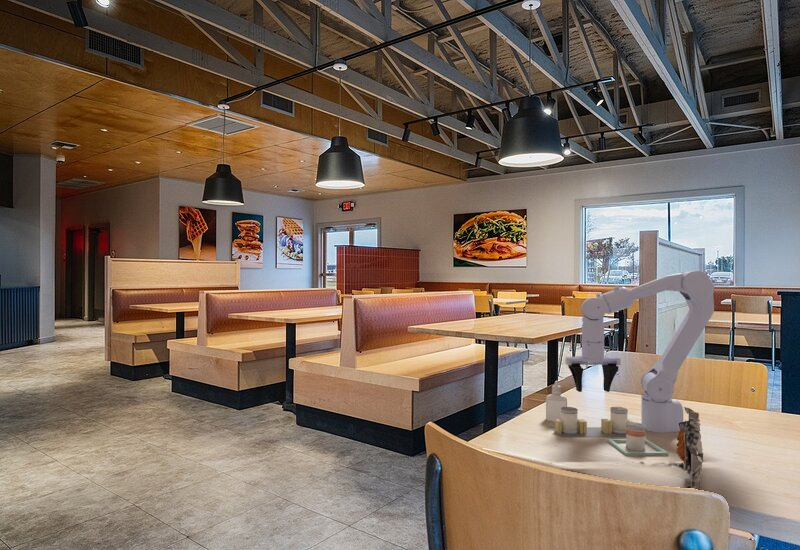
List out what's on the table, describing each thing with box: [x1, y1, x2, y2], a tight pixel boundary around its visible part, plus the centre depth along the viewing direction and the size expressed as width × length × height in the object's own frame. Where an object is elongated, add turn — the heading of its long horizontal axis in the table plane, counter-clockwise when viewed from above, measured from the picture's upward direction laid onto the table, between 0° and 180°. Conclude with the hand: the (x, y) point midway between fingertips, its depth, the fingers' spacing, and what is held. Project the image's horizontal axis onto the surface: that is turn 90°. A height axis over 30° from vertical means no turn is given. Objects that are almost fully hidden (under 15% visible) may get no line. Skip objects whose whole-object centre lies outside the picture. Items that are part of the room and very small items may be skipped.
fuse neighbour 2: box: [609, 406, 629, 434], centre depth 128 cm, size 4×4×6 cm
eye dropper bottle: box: [545, 380, 568, 422], centre depth 139 cm, size 4×6×12 cm
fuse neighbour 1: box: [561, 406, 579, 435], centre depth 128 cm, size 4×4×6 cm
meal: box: [676, 406, 705, 489], centre depth 101 cm, size 15×4×13 cm, turn 153°
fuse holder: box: [550, 418, 634, 438], centre depth 128 cm, size 20×8×4 cm, turn 91°
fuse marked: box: [625, 421, 646, 452], centre depth 116 cm, size 4×4×6 cm
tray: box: [606, 438, 669, 457], centre depth 116 cm, size 10×10×2 cm
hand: (592, 391), depth 136 cm, fingers open, 7 cm apart
